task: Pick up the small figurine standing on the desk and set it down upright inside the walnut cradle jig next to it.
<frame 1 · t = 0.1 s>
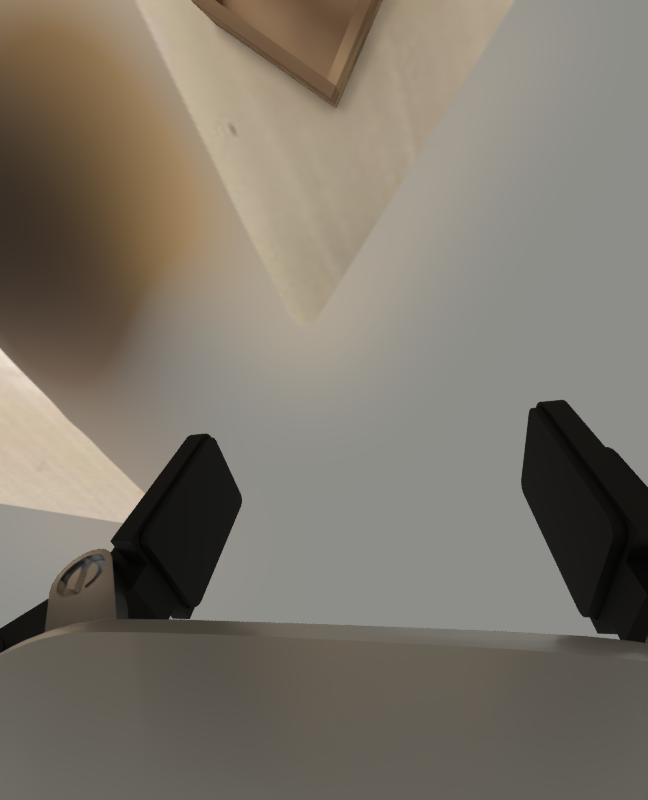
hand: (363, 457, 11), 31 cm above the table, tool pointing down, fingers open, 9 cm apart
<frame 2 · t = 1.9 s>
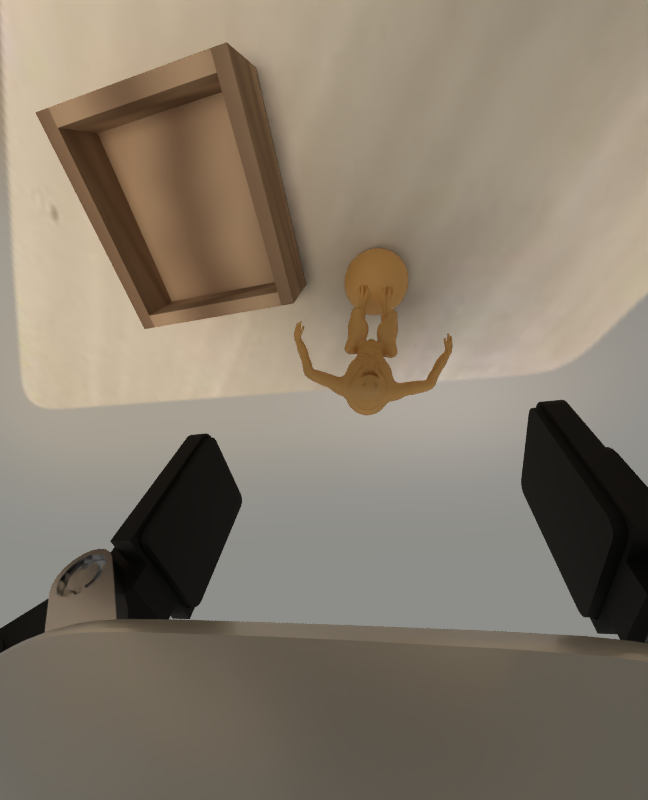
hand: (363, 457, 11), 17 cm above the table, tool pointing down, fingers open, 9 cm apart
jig: (207, 210, 23), on the table
figurine: (374, 289, 24), on the table
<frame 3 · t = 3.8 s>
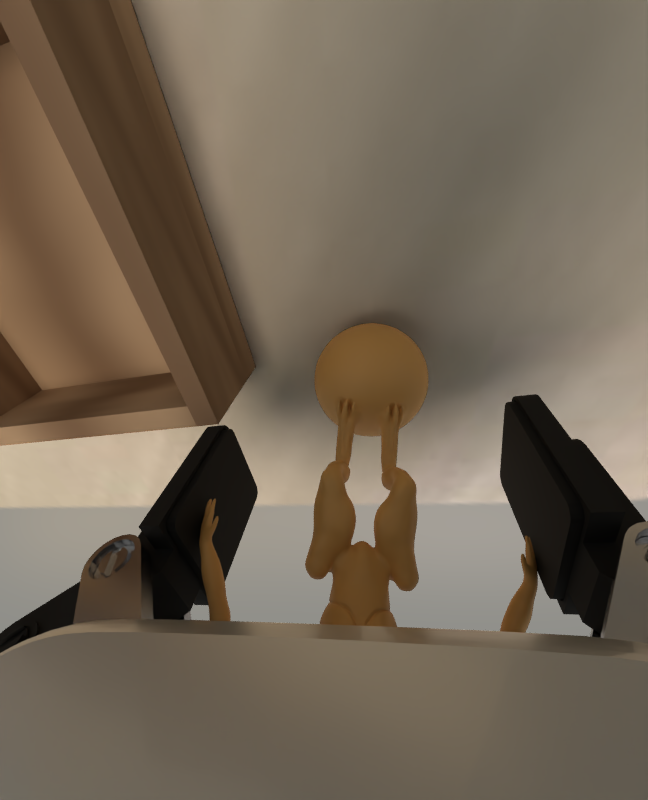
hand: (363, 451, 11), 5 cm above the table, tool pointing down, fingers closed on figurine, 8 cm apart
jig: (80, 249, 13), on the table
figurine: (367, 375, 15), on the table, touching gripper
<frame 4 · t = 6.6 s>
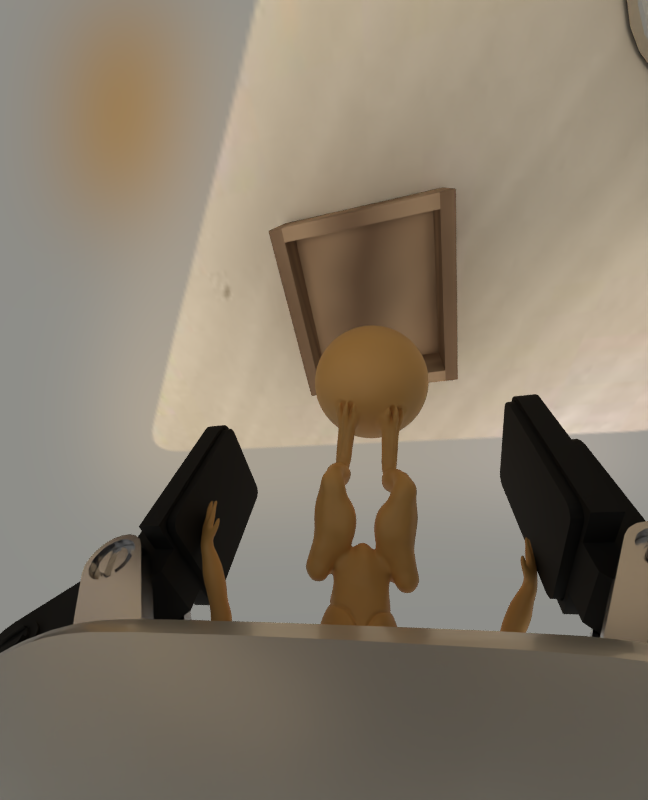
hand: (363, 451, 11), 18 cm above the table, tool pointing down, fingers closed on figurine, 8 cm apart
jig: (371, 293, 26), on the table
figurine: (367, 377, 15), point 13 cm above the table, touching gripper
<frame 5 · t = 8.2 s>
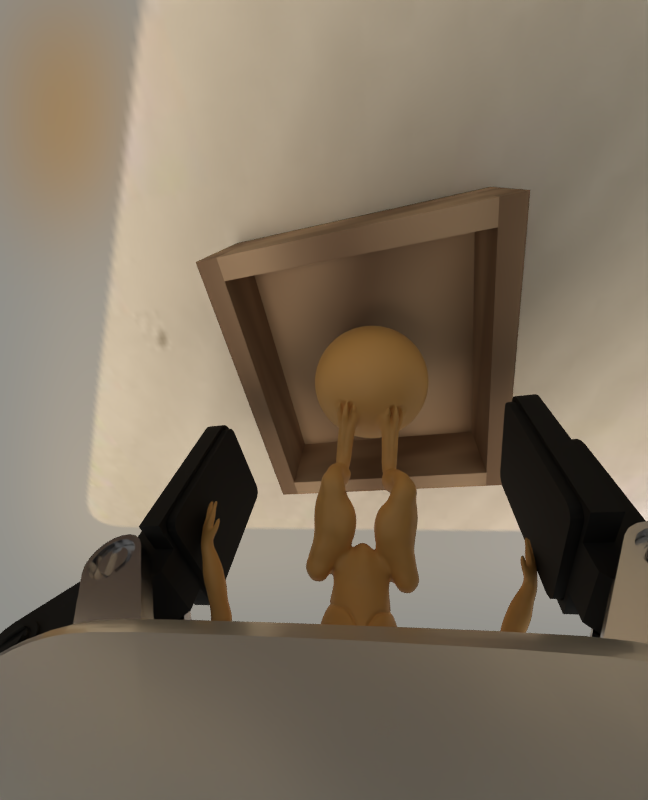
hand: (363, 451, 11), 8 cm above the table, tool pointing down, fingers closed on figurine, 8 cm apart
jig: (371, 345, 17), on the table
figurine: (367, 377, 15), point 3 cm above the table, touching gripper
when the fingers open (7 cm above the table, at t = 9.6 s): figurine stays where it is, resting on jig.
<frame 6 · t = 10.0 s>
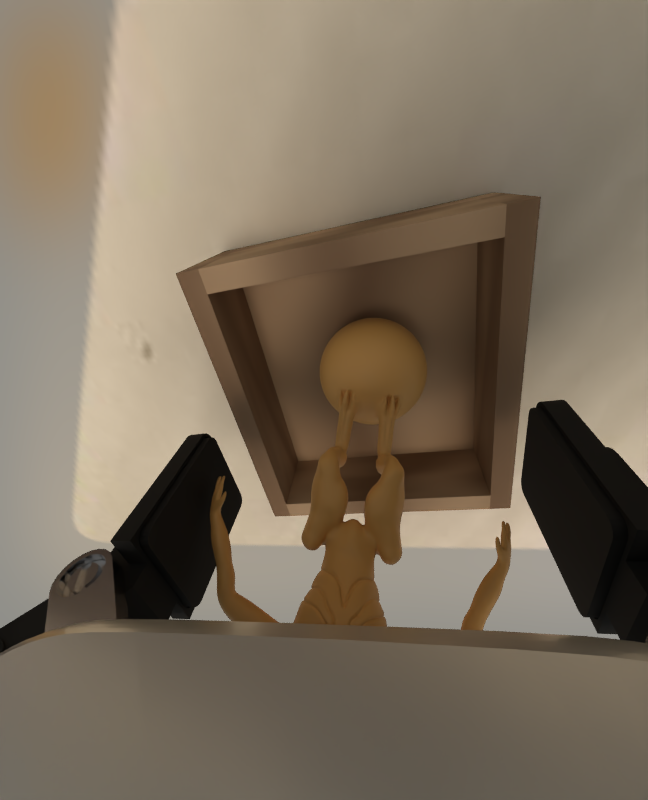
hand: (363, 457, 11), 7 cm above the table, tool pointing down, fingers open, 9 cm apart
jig: (368, 358, 16), on the table
figurine: (372, 366, 15), point 1 cm above the table, touching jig
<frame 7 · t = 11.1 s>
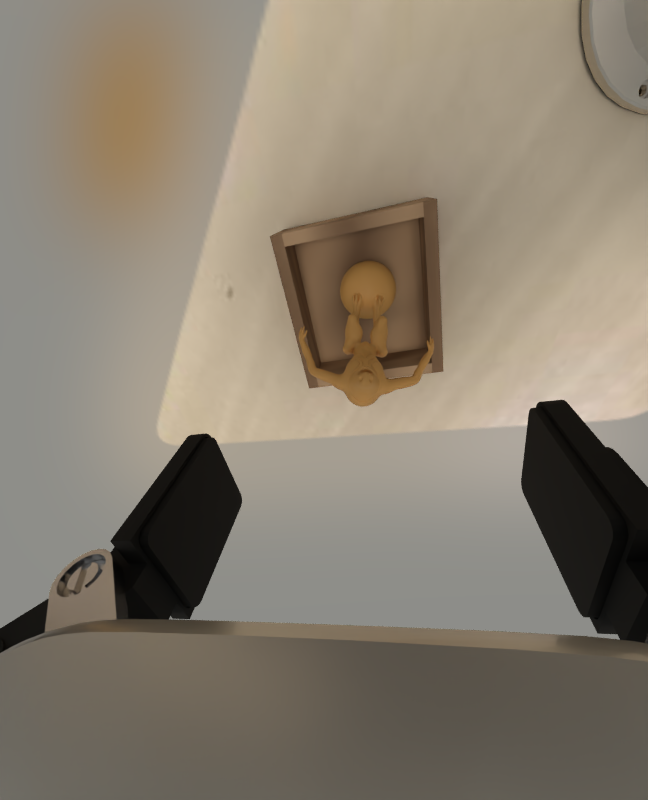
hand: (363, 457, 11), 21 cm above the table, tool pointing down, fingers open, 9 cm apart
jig: (363, 293, 28), on the table
figurine: (365, 295, 27), point 1 cm above the table, touching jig
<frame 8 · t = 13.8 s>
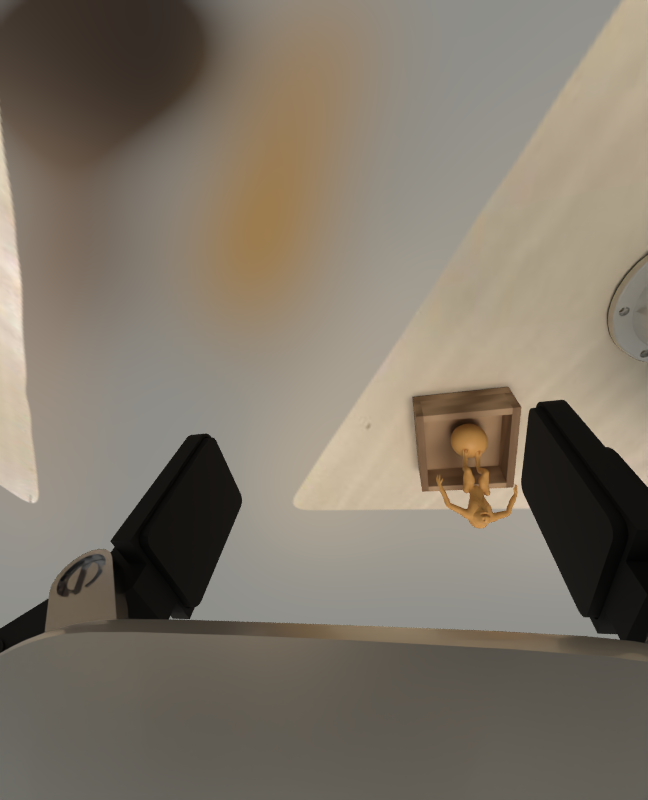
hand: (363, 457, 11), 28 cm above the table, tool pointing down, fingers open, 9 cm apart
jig: (459, 431, 43), on the table
figurine: (462, 435, 42), point 1 cm above the table, touching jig
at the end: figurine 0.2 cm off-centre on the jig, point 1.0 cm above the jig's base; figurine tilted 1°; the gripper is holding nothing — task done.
